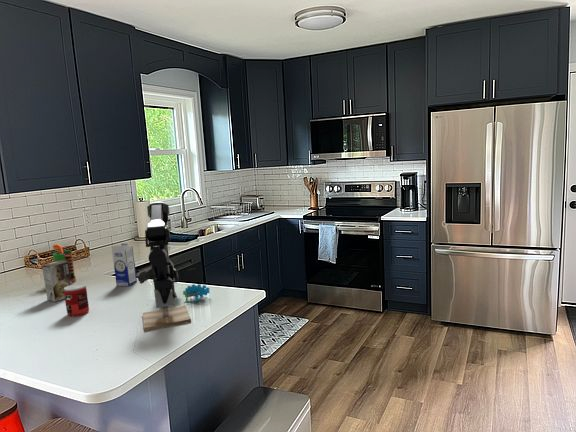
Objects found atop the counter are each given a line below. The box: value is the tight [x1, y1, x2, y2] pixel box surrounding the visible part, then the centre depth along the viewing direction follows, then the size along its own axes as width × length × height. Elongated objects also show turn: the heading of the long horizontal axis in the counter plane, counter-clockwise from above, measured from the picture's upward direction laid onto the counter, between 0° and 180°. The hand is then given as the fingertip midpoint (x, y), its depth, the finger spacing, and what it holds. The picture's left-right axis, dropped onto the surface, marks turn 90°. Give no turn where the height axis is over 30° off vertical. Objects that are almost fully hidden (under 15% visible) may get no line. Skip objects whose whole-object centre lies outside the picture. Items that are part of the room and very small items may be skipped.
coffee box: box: [41, 260, 73, 302], centre depth 191 cm, size 9×6×16 cm
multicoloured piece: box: [52, 243, 77, 284], centre depth 216 cm, size 10×9×20 cm
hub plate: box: [142, 305, 192, 332], centre depth 157 cm, size 16×16×5 cm
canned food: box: [64, 283, 90, 317], centre depth 170 cm, size 8×8×11 cm
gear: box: [182, 283, 210, 303], centre depth 176 cm, size 11×6×10 cm
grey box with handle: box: [153, 288, 174, 309], centre depth 157 cm, size 6×6×6 cm
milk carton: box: [111, 243, 138, 287], centre depth 206 cm, size 7×7×20 cm
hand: (164, 300), depth 157 cm, fingers closed on grey box with handle, 6 cm apart
